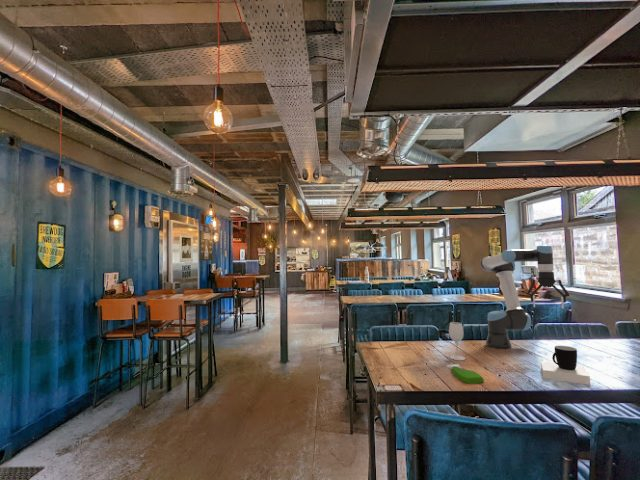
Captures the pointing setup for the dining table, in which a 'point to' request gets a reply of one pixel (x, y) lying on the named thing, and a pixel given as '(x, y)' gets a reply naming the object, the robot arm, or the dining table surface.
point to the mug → (565, 357)
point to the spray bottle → (466, 374)
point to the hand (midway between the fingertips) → (548, 307)
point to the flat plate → (565, 373)
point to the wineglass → (456, 337)
